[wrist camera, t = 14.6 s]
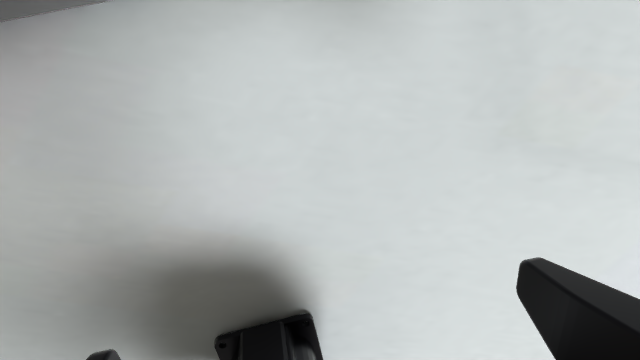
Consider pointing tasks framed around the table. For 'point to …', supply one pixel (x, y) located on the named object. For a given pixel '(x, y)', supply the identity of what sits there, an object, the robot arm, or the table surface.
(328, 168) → the table surface
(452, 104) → the table surface
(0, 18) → the housing
